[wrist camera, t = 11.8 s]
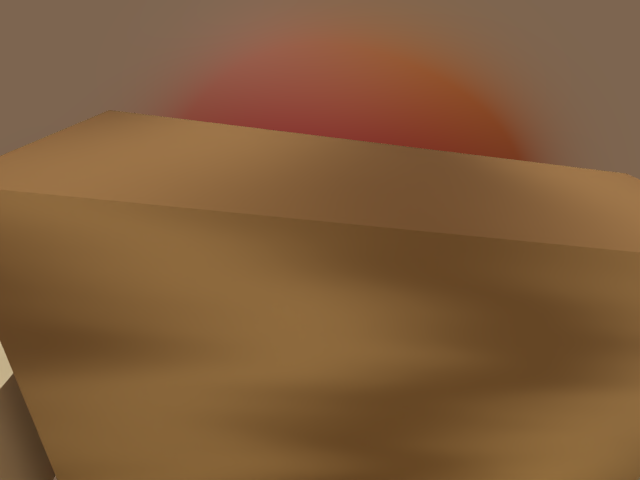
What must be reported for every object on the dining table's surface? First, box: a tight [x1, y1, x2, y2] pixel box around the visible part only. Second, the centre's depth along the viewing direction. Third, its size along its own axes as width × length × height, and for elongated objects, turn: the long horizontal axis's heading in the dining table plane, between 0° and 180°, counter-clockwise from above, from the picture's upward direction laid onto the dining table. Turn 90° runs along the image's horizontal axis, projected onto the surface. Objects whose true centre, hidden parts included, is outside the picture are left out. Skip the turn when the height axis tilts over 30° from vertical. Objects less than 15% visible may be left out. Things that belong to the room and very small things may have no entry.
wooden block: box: [0, 110, 640, 480], centre depth 9 cm, size 10×4×14 cm, turn 93°
